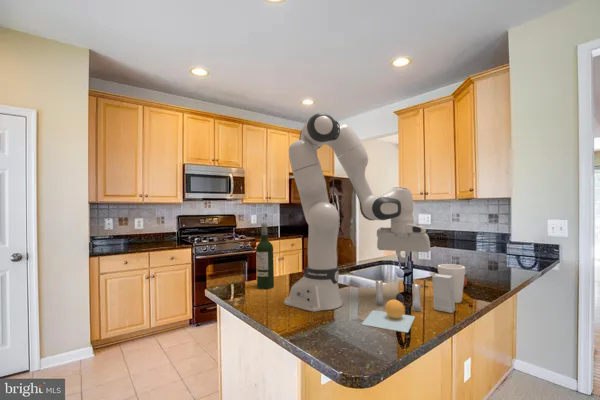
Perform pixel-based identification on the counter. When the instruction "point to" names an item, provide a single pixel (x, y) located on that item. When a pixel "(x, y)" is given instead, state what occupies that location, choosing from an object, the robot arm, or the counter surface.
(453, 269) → the foam cup
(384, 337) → the counter surface
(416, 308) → the right post
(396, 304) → the ball
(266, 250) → the wine bottle
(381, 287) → the left post
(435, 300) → the skincare box
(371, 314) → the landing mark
